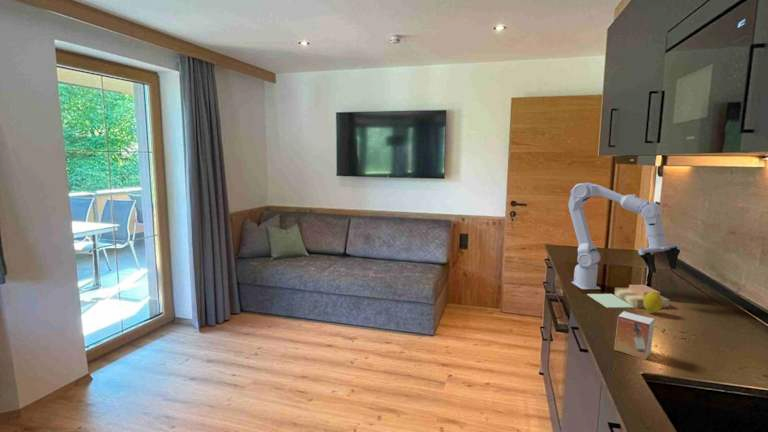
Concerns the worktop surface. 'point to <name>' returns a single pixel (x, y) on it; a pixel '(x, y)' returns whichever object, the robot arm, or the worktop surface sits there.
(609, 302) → the mat
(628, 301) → the tan tray
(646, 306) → the lemon
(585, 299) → the worktop surface
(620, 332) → the small box
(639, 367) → the worktop surface
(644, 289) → the tile
